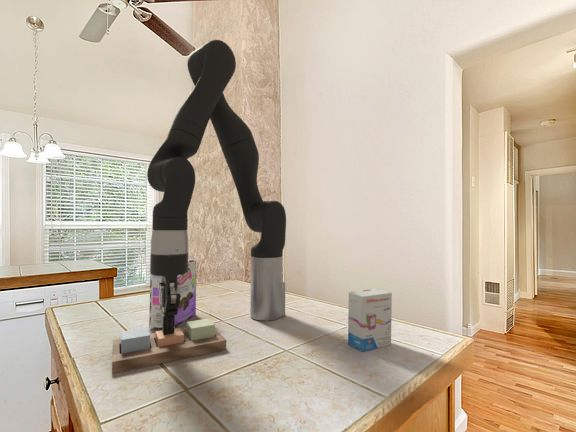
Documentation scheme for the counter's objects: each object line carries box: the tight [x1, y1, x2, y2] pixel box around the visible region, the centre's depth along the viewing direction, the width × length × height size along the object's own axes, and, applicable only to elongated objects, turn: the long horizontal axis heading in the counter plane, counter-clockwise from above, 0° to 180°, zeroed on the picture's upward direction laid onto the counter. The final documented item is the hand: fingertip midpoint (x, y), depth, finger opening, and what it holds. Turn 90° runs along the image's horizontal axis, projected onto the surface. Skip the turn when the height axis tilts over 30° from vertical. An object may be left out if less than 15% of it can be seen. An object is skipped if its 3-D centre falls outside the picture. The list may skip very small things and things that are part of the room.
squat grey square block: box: [120, 327, 151, 354], centre depth 61 cm, size 5×5×3 cm
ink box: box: [347, 287, 393, 353], centre depth 67 cm, size 9×5×12 cm, turn 117°
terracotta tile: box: [154, 327, 184, 347], centre depth 65 cm, size 5×5×3 cm
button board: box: [111, 327, 227, 374], centre depth 65 cm, size 21×12×2 cm, turn 119°
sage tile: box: [186, 318, 216, 341], centre depth 68 cm, size 5×5×3 cm
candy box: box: [148, 258, 197, 331], centre depth 83 cm, size 14×6×16 cm, turn 168°
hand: (168, 333), depth 65 cm, fingers closed
